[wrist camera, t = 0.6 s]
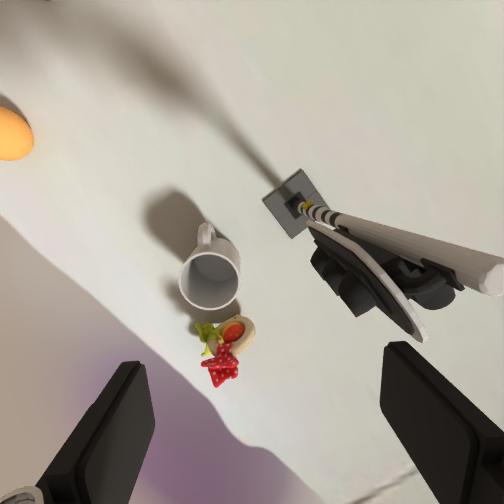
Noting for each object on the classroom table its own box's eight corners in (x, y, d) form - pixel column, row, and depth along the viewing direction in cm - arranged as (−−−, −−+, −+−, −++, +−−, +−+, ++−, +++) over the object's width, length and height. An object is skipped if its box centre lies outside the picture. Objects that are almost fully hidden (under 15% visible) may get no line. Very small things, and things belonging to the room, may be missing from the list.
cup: (197, 286, 39) (185, 314, 31) (183, 221, 37) (166, 233, 28) (244, 279, 39) (245, 305, 31) (233, 214, 37) (231, 223, 28)
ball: (-9, 113, 32) (-64, 97, 27) (39, 112, 33) (-4, 96, 27) (3, 163, 34) (-46, 158, 28) (50, 162, 34) (11, 157, 28)
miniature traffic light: (259, 204, 37) (329, 275, 8) (302, 170, 36) (568, 103, 7) (290, 244, 38) (443, 427, 9) (331, 212, 37) (647, 306, 8)
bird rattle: (228, 295, 42) (180, 330, 39) (256, 313, 32) (194, 362, 29) (247, 325, 44) (202, 360, 41) (278, 351, 34) (222, 400, 31)
